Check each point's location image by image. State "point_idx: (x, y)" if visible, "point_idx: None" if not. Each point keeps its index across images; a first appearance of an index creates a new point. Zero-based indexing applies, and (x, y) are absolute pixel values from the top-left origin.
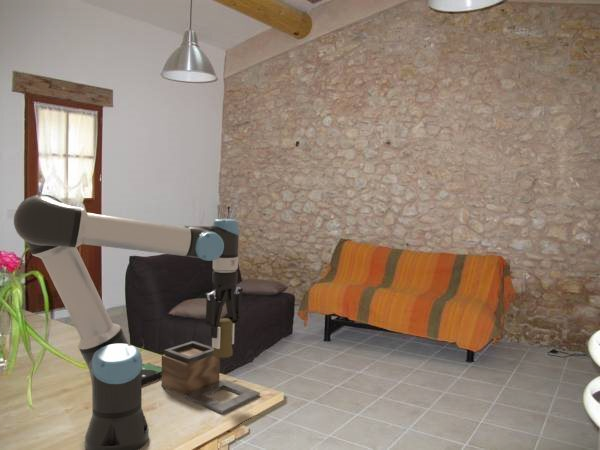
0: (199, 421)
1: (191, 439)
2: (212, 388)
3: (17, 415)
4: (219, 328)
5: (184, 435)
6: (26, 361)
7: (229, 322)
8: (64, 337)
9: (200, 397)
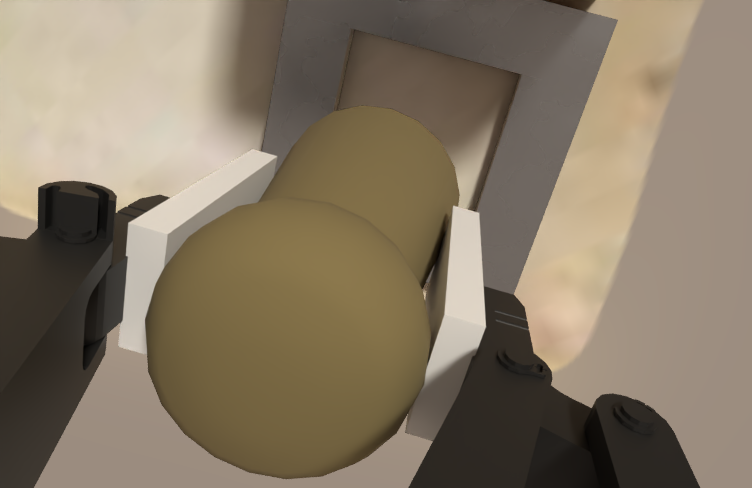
0: (151, 165)
1: (33, 214)
2: (449, 38)
3: None
4: (138, 344)
5: (36, 173)
6: None
7: (260, 473)
8: None
9: (314, 43)
